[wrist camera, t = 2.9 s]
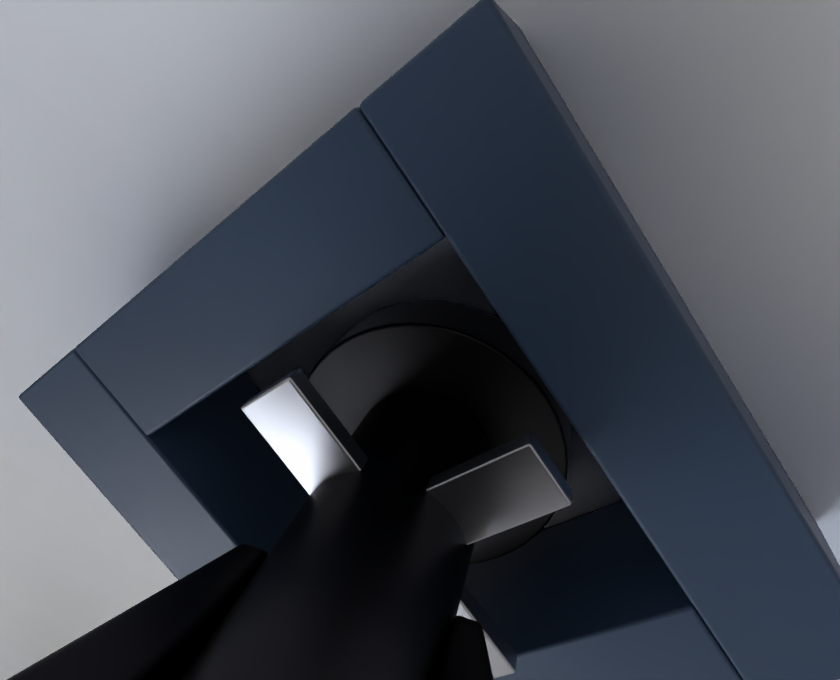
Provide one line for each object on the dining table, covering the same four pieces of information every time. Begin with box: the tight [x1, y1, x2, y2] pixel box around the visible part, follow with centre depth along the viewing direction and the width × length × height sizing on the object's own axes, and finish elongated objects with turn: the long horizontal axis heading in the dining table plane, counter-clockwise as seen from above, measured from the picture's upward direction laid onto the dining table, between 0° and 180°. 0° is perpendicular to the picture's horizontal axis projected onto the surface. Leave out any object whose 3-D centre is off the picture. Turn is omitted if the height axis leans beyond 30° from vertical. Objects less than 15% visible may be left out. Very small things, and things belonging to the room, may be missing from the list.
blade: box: [181, 301, 572, 680], centre depth 9 cm, size 7×7×10 cm
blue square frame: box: [19, 0, 840, 680], centre depth 12 cm, size 12×12×4 cm
